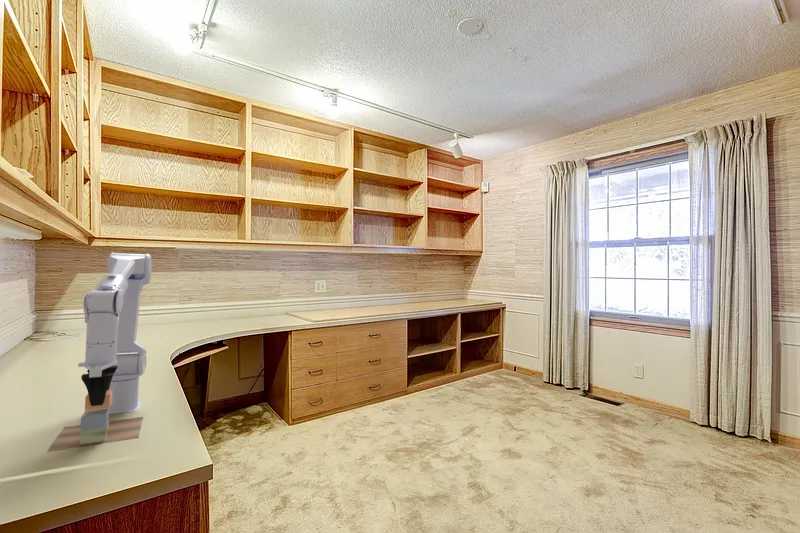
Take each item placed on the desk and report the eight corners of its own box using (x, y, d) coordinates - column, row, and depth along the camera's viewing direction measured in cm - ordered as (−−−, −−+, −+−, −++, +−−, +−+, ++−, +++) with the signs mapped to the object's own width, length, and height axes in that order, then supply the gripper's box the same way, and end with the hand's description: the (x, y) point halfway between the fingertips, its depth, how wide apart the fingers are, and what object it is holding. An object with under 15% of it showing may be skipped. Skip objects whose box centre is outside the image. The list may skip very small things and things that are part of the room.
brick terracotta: (88, 405, 89) (89, 391, 89) (112, 402, 91) (112, 389, 91) (84, 410, 85) (85, 397, 85) (109, 407, 87) (110, 394, 88)
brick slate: (84, 423, 88) (85, 410, 88) (108, 420, 90) (109, 407, 91) (80, 430, 84) (81, 416, 85) (105, 427, 87) (106, 413, 87)
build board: (64, 429, 94) (64, 414, 94) (143, 418, 102) (143, 405, 102) (46, 454, 81) (47, 437, 81) (138, 440, 89) (139, 424, 89)
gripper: (86, 338, 93) (83, 395, 93) (72, 348, 80) (68, 414, 80) (121, 337, 97) (119, 391, 96) (114, 346, 84) (111, 409, 84)
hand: (98, 401), depth 88 cm, fingers closed on brick terracotta, 4 cm apart
